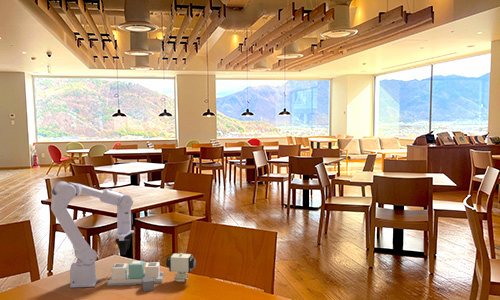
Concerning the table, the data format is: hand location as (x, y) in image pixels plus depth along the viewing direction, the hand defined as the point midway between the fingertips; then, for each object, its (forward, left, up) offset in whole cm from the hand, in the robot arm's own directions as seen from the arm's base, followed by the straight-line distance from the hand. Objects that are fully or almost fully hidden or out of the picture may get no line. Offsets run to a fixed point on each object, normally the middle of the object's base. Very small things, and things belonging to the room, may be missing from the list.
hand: (124, 251), depth 176 cm
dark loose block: (+12, -17, -10) cm, 23 cm away
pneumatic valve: (+25, -10, -10) cm, 29 cm away
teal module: (+6, -8, -9) cm, 14 cm away
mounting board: (+6, -8, -10) cm, 14 cm away
